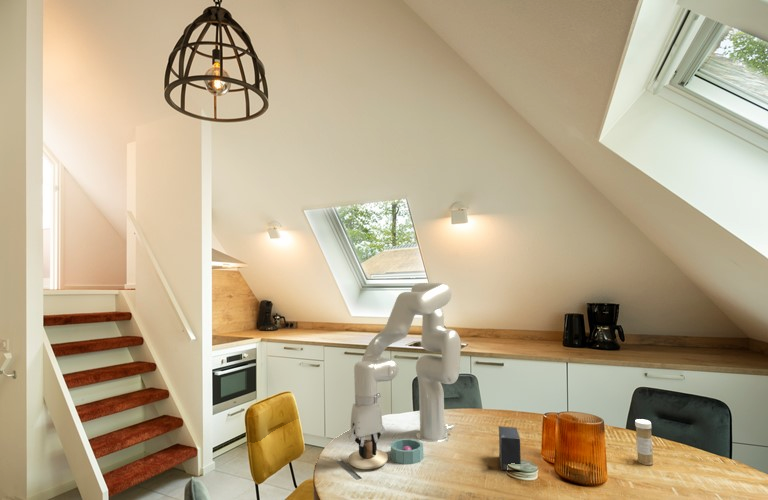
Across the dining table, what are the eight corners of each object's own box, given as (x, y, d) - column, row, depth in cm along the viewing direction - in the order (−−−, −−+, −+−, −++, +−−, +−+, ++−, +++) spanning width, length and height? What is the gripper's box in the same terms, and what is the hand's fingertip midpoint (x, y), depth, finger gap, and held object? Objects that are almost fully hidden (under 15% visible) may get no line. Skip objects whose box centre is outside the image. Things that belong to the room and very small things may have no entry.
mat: (375, 453, 149) (375, 451, 149) (397, 469, 136) (397, 467, 136) (336, 463, 142) (336, 461, 142) (356, 481, 129) (356, 479, 129)
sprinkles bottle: (642, 458, 141) (640, 417, 142) (656, 463, 137) (654, 421, 138) (634, 461, 139) (631, 420, 140) (648, 466, 135) (645, 424, 136)
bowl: (411, 450, 151) (411, 436, 151) (429, 462, 141) (429, 446, 142) (385, 457, 145) (384, 443, 146) (402, 470, 136) (401, 454, 136)
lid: (375, 448, 148) (374, 431, 149) (394, 462, 137) (394, 443, 138) (342, 457, 142) (341, 439, 142) (359, 472, 131) (359, 453, 131)
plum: (408, 453, 146) (408, 443, 146) (414, 457, 143) (414, 446, 143) (399, 456, 144) (399, 445, 144) (405, 460, 141) (405, 449, 141)
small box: (522, 472, 133) (521, 438, 134) (501, 470, 134) (499, 437, 135) (518, 458, 143) (517, 426, 144) (498, 456, 145) (497, 425, 145)
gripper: (381, 392, 148) (383, 445, 147) (339, 401, 140) (340, 457, 139) (392, 397, 141) (394, 453, 140) (348, 407, 133) (350, 466, 132)
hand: (367, 454), depth 139 cm, fingers closed on lid, 3 cm apart
